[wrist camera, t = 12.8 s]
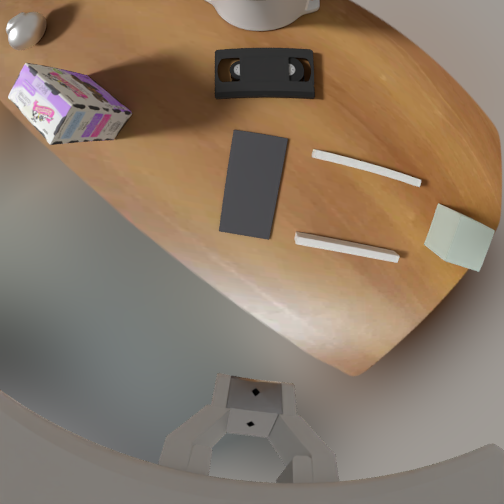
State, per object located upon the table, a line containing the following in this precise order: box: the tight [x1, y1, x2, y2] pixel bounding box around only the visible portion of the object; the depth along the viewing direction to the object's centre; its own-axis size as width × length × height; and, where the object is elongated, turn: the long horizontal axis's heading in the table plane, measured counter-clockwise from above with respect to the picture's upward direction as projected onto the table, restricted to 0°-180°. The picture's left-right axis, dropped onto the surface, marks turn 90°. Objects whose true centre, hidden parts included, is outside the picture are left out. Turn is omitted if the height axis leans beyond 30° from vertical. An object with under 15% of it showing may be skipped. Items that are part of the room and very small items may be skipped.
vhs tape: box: [215, 48, 315, 99], centre depth 35 cm, size 14×8×2 cm, turn 91°
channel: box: [219, 130, 421, 263], centre depth 41 cm, size 16×30×2 cm, turn 81°
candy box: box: [8, 63, 132, 145], centre depth 30 cm, size 14×6×16 cm, turn 47°
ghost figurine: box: [6, 12, 46, 50], centre depth 25 cm, size 9×10×10 cm
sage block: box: [424, 203, 495, 272], centre depth 39 cm, size 8×10×8 cm
